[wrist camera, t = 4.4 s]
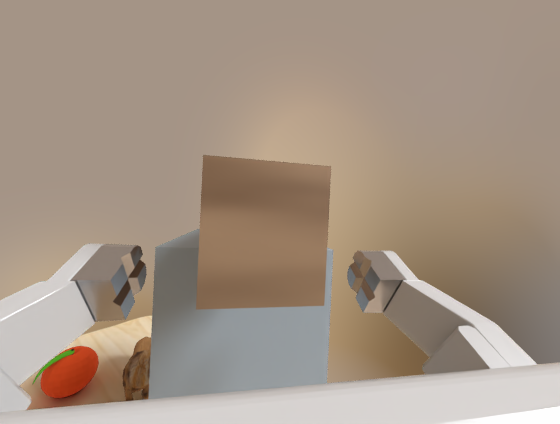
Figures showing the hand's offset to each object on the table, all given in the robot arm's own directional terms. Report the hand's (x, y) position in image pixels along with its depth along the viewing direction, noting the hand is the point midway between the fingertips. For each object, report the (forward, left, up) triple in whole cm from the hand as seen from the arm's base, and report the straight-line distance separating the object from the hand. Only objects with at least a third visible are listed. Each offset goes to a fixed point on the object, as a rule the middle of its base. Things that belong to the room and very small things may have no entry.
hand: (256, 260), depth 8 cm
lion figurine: (-30, +20, -30) cm, 47 cm away
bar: (-4, +7, -1) cm, 8 cm away
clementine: (-40, +14, -30) cm, 52 cm away
